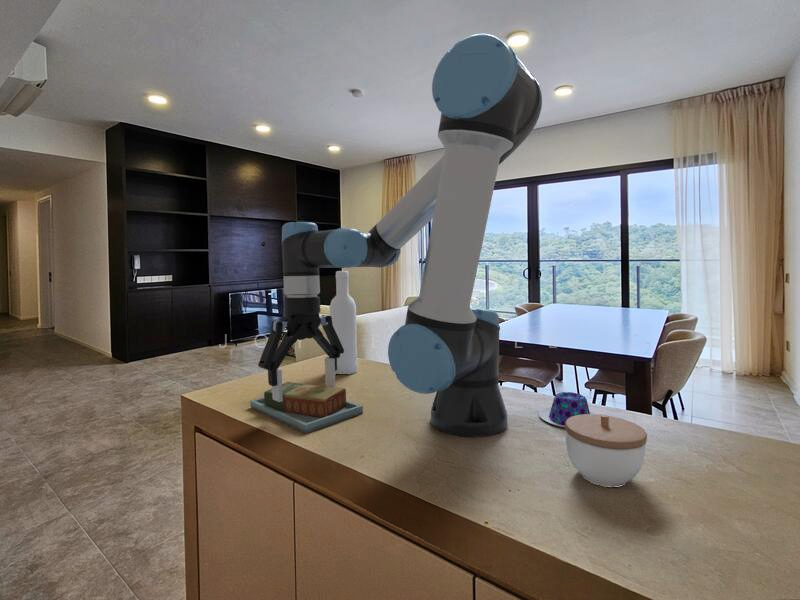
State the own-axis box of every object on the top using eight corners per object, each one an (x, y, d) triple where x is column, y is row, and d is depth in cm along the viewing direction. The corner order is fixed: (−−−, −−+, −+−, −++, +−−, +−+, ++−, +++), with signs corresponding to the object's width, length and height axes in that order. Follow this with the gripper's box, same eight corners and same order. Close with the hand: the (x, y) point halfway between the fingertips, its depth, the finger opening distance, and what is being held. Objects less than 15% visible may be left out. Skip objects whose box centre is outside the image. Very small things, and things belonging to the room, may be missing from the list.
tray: (362, 413, 89) (362, 405, 89) (305, 433, 79) (305, 425, 79) (305, 392, 104) (304, 386, 104) (250, 407, 93) (250, 400, 93)
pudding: (529, 422, 84) (529, 396, 84) (552, 406, 93) (552, 383, 93) (591, 438, 76) (592, 410, 76) (610, 419, 85) (611, 394, 85)
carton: (325, 419, 84) (325, 398, 84) (263, 409, 91) (262, 390, 90) (346, 406, 92) (346, 387, 92) (287, 397, 98) (287, 380, 98)
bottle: (362, 371, 124) (361, 270, 121) (341, 376, 119) (338, 271, 116) (347, 367, 130) (345, 270, 127) (325, 371, 124) (323, 271, 122)
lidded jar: (663, 490, 58) (666, 424, 57) (600, 503, 55) (602, 434, 54) (605, 456, 68) (607, 400, 68) (549, 465, 65) (550, 407, 65)
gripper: (337, 292, 101) (339, 377, 102) (237, 299, 83) (242, 403, 84) (357, 293, 96) (359, 383, 97) (256, 300, 77) (261, 411, 79)
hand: (305, 392), depth 91 cm, fingers open, 13 cm apart
